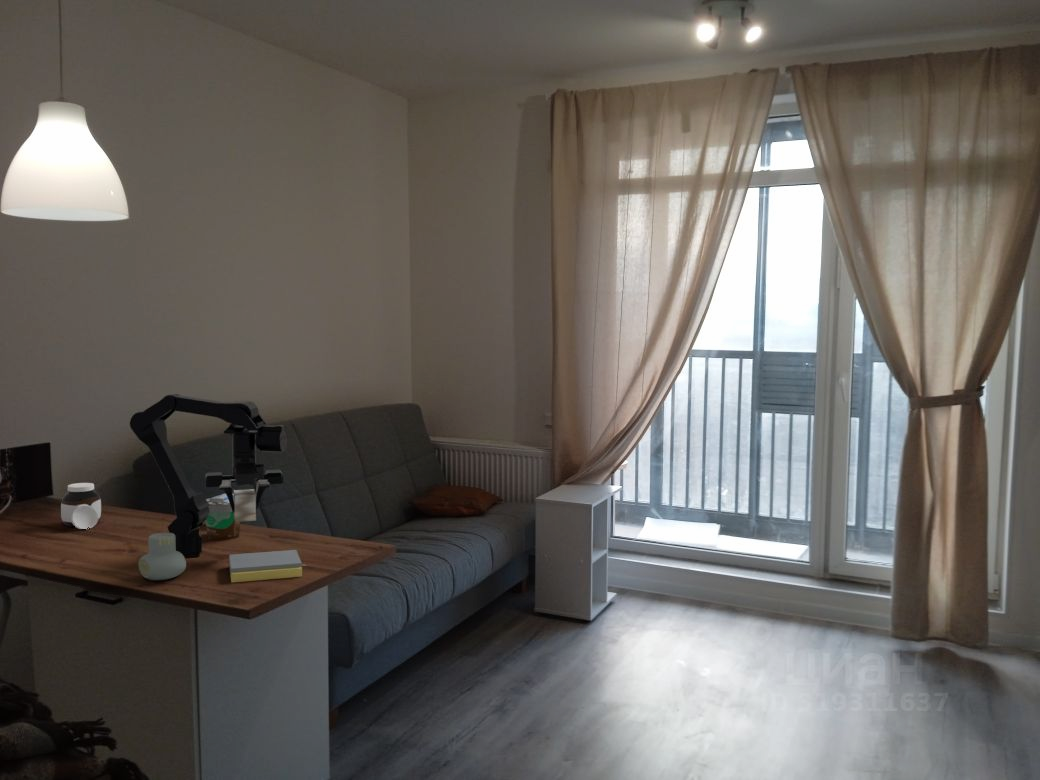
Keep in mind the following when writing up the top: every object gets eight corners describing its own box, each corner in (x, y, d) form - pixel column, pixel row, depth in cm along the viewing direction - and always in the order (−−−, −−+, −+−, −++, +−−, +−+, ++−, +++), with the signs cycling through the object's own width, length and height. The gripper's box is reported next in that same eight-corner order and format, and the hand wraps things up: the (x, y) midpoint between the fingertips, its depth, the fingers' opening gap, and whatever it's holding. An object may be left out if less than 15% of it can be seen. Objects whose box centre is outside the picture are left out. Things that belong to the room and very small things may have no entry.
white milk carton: (235, 521, 210) (234, 496, 209) (233, 514, 217) (233, 489, 217) (255, 520, 212) (255, 495, 211) (253, 513, 219) (253, 488, 219)
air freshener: (189, 579, 197) (189, 537, 196) (153, 586, 191) (153, 543, 190) (170, 568, 204) (170, 528, 203) (135, 575, 199) (135, 533, 198)
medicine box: (223, 528, 243) (223, 498, 243) (209, 527, 244) (209, 497, 243) (238, 522, 251) (237, 493, 250) (224, 521, 252) (224, 492, 251)
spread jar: (85, 519, 250) (85, 480, 249) (115, 523, 246) (114, 484, 245) (51, 528, 239) (50, 488, 238) (81, 532, 235) (80, 491, 234)
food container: (192, 537, 232) (192, 502, 232) (208, 532, 238) (208, 497, 237) (227, 543, 228) (227, 506, 227) (243, 537, 233) (243, 502, 233)
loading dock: (231, 582, 195) (231, 569, 194) (229, 566, 207) (229, 554, 206) (302, 576, 200) (302, 564, 200) (296, 561, 212) (296, 549, 212)
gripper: (205, 457, 202) (206, 521, 204) (285, 454, 209) (285, 516, 210) (204, 450, 213) (205, 511, 214) (281, 448, 219) (281, 506, 221)
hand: (244, 511), depth 215 cm, fingers closed on white milk carton, 5 cm apart
